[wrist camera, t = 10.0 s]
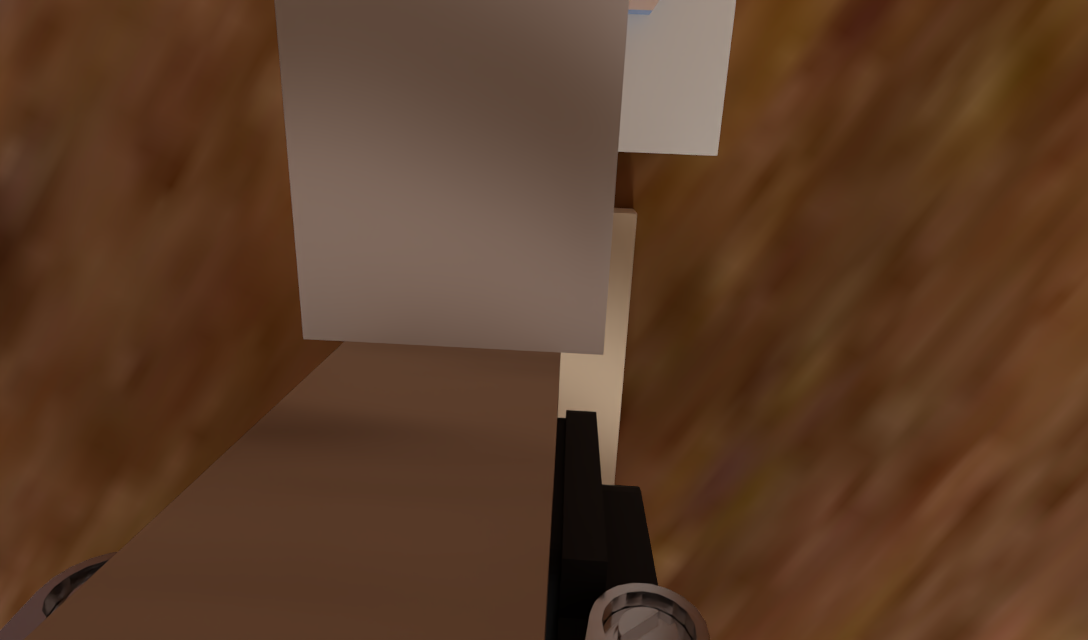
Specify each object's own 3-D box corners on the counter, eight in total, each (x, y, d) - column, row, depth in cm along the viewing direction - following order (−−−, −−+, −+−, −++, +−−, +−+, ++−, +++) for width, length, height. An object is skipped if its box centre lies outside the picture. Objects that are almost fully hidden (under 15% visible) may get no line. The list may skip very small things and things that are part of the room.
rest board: (596, 649, 21) (598, 674, 20) (394, 635, 21) (386, 660, 20) (633, 208, 16) (637, 213, 15) (374, 197, 17) (362, 201, 16)
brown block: (584, 575, 12) (597, 1110, 6) (338, 558, 12) (64, 1060, 6) (640, -214, 8) (911, -1605, 2) (279, -222, 8) (-803, -1509, 2)
